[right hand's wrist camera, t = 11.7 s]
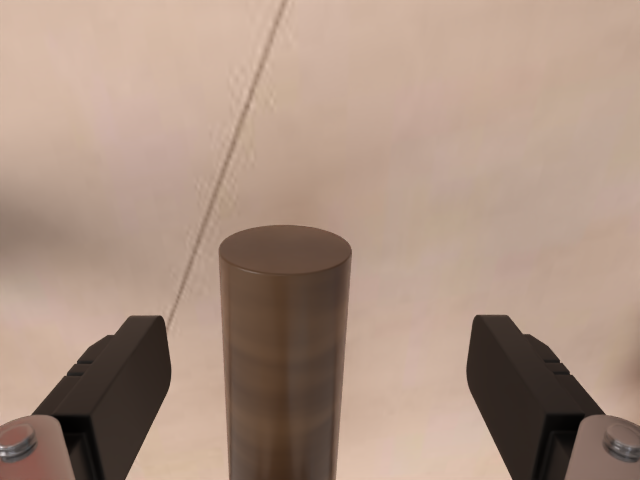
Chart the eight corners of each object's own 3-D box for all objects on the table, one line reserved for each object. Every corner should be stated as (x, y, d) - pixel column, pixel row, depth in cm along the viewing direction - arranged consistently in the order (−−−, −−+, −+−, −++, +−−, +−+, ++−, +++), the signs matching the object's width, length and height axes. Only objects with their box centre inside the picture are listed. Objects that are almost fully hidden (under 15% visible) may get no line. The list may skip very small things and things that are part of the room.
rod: (231, 222, 21) (204, 272, 16) (347, 226, 22) (357, 276, 16) (242, 548, 30) (227, 652, 24) (326, 550, 30) (328, 652, 25)
